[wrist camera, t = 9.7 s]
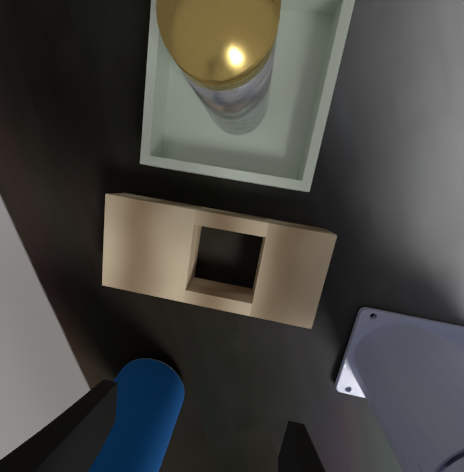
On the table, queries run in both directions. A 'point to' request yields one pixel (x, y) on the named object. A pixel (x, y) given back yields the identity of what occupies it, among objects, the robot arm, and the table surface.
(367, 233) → the table surface
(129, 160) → the table surface
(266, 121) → the tray
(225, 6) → the white and gold cylinder
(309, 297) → the wooden block with hole
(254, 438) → the table surface
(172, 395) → the beverage can
